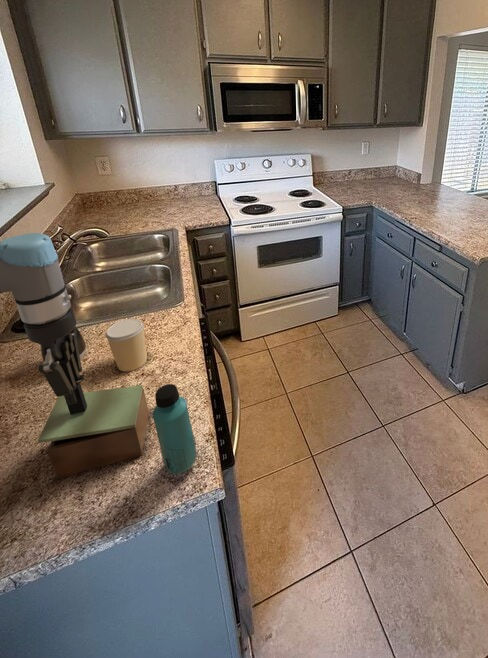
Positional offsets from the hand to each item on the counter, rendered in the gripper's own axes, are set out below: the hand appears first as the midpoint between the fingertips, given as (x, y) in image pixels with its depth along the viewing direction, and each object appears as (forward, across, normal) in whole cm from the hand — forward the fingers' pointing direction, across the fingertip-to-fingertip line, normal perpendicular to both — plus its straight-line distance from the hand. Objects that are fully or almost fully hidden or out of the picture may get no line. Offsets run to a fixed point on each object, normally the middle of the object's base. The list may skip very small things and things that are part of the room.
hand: (79, 410), depth 75 cm
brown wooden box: (+11, 0, -3) cm, 11 cm away
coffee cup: (+11, +27, -4) cm, 29 cm away
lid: (+2, 0, -3) cm, 3 cm away
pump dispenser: (+11, +33, +14) cm, 37 cm away
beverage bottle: (+11, -11, -19) cm, 25 cm away
